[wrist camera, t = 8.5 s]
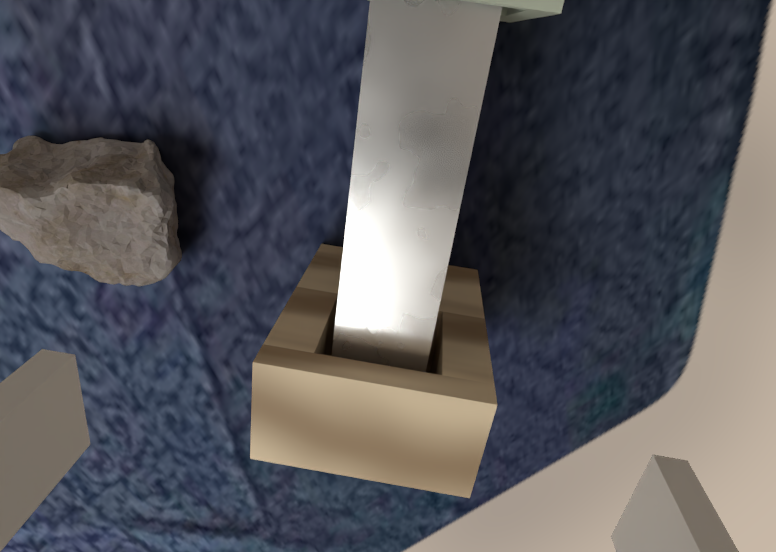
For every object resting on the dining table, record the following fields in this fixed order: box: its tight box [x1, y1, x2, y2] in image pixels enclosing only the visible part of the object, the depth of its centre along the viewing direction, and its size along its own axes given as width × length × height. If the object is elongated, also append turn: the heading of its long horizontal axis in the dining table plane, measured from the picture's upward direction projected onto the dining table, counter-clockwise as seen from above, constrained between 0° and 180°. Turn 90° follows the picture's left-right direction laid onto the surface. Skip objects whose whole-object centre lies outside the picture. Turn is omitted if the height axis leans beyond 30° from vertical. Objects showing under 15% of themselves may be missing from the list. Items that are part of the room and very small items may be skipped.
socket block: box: [250, 244, 497, 498], centre depth 25 cm, size 5×9×12 cm, turn 82°
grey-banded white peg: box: [332, 0, 502, 372], centre depth 19 cm, size 18×4×4 cm, turn 172°
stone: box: [0, 136, 182, 286], centre depth 27 cm, size 8×10×6 cm
